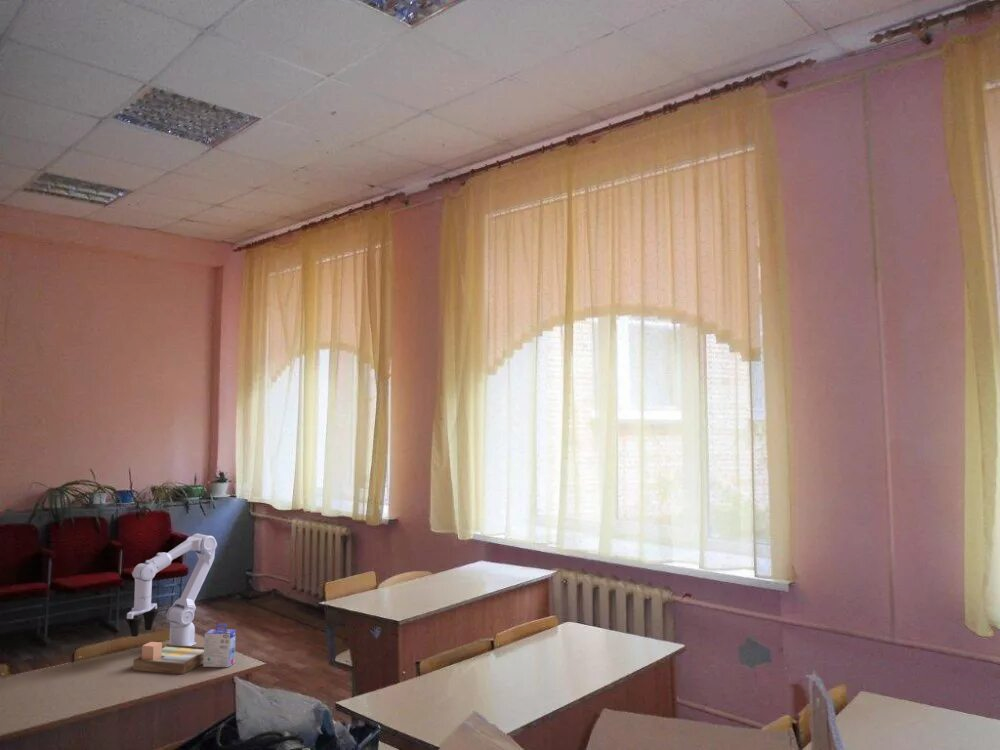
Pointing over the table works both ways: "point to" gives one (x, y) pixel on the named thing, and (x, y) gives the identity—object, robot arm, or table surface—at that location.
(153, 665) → the puzzle tray
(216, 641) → the ink cartridge box
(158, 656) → the terracotta block
